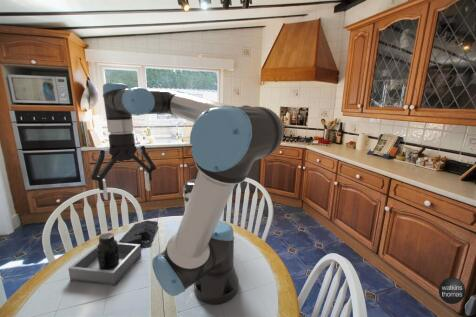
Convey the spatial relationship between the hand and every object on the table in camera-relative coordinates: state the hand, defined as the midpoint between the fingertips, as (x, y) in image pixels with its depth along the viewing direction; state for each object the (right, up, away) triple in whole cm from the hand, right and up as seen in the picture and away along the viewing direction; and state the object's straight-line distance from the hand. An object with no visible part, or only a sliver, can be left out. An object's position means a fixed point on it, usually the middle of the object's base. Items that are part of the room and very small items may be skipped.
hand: (128, 194), depth 81 cm
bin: (-11, -29, +8) cm, 32 cm away
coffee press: (+20, -24, +32) cm, 45 cm away
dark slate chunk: (-8, -25, +31) cm, 40 cm away
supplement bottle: (-11, -28, +8) cm, 31 cm away
